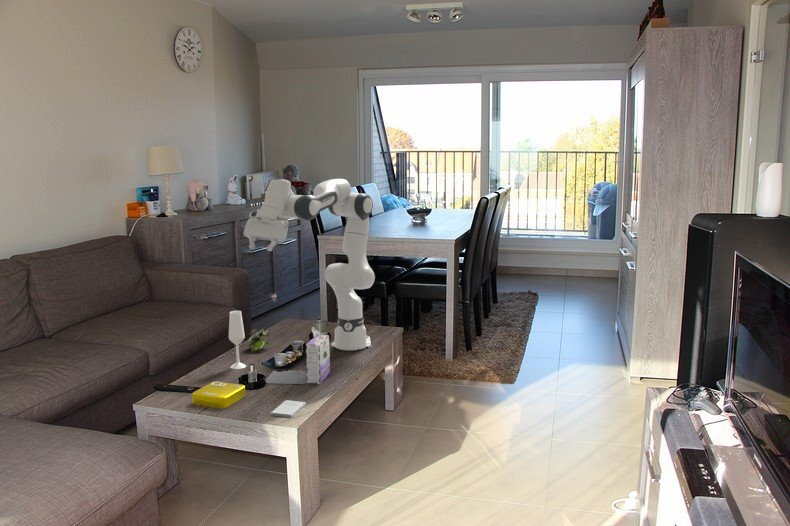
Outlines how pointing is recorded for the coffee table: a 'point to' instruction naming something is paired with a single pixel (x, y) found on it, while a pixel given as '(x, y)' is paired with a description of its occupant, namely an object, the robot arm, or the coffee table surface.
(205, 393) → the element tile
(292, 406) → the external hard drive
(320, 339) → the candy box
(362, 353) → the coffee table surface
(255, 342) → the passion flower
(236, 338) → the champagne flute
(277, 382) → the mat
